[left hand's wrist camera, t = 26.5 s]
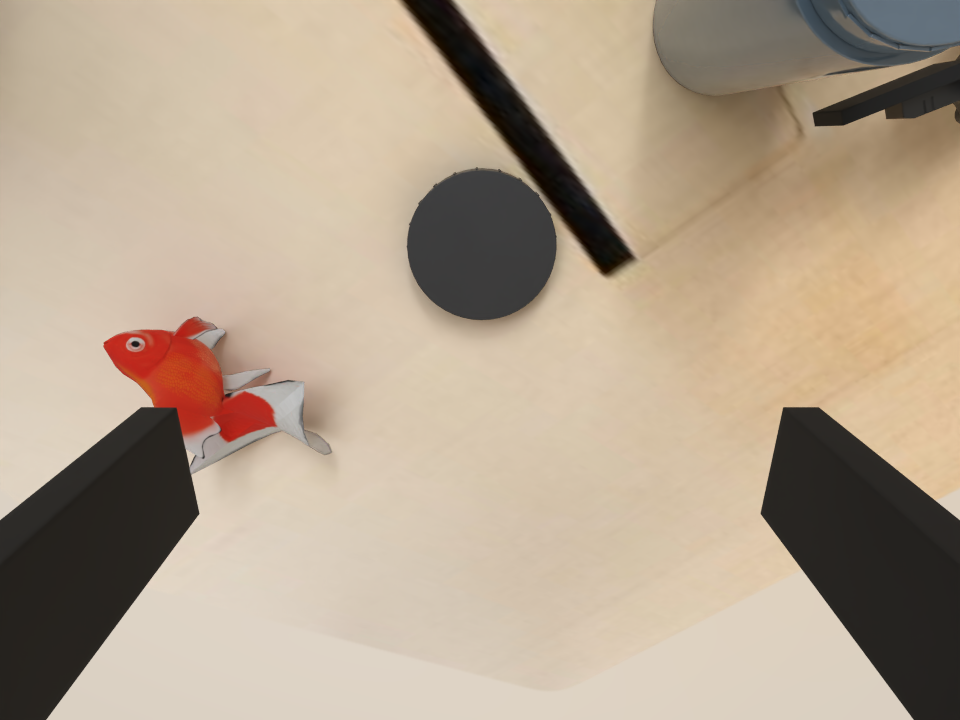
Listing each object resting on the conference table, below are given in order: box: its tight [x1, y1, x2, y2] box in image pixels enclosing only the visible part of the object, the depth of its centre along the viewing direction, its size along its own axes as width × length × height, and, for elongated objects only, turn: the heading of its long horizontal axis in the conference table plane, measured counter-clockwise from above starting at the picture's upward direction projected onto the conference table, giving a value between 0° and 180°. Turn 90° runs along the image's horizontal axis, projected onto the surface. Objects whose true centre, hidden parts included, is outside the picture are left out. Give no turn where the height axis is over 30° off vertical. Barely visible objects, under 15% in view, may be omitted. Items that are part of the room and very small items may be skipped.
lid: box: [407, 167, 556, 320], centre depth 38 cm, size 10×10×2 cm
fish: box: [104, 317, 332, 475], centre depth 39 cm, size 11×16×10 cm
